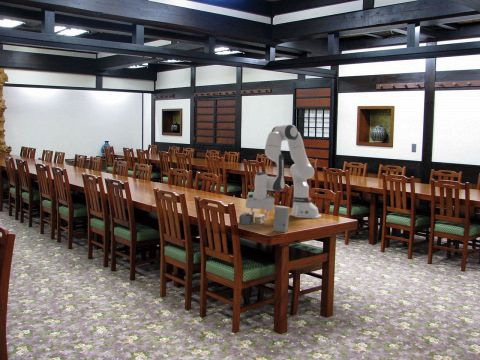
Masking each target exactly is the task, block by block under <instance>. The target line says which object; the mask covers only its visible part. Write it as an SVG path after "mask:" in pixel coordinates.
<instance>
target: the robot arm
mask: <svg viewBox="0 0 480 360" xmlns="http://www.w3.org/2000/svg"><path fill="white" fill-rule="evenodd" d="M286 141H287V145H288V150H289V154H290V157H291V160H292V161H293V162H294V163H293V164H292V165H291V166H290V168H289V172H290V174H291V176H292V182H293V197H292V208H291V209H292V210H291V212H290V215H291V216H292V217H295V218H302V219H303V218H307V219H319V218H322V214H321V213H319V208H318V207H317V206H316V205H315V204H314V203H313V202H312V197H310V196H309V193H310V192H309V191H310V186H309V184H308V180H310V179H312V178H313V177H314V175H315V168H314V167H313V166H312V164H311V163H310V160H309V158H308V156H307V152H306V150H305V149H306V148H305V145H304V141H303V137H302V135H301V133H300V132H299V130H298V128H297V127H296V126H295V125H293V124H282V125H277V126H274V127H273V128H272V129H271V132H269V133H268V135H267V138H266V142H265V147H264V154H265V156H266V157H267V158H268V159H269V160H271V161H272V162H274V163H275V164H276V176H269V175H268V174H267V172H265V171H259V172H256V173H255V176H254V190H253V192H251V193H249V194H247V198H246V199H245V207H246V208H247V209H250V213H251V214H253V215H254V216H255V213H256V212H255V211H254V209H255V210H266V212H265V213H264V214H265V216H266V217H267V216H268V214H269V212H270V211H274V210H275V198H274V196H268V195H267V193H268V191H273V192H276V193H279V192H282V191H283V190H284V189H285V187H286V184H285V183H286V182H285V159H284V155H283V154H282V151H281V149H282V142H286Z"/></svg>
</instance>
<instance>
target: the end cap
mask: <svg viewBox="0 0 480 360" xmlns="http://www.w3.org/2000/svg"><path fill="white" fill-rule="evenodd" d="M254 217H255V214H254V215H253V214H252V213H250V212H244V213H241V214H240V215H239V220H238V221H239V225H251V223H252V224H253V223H254ZM254 224H255V223H254Z"/></svg>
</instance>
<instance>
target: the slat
mask: <svg viewBox="0 0 480 360" xmlns="http://www.w3.org/2000/svg"><path fill="white" fill-rule="evenodd" d="M266 221H267V216H265V213H259V214H258V215H256V216H254V224H257V225H258V224H260V225H261V224H262V223H264V222H266Z"/></svg>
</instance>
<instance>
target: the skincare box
mask: <svg viewBox="0 0 480 360" xmlns="http://www.w3.org/2000/svg"><path fill="white" fill-rule="evenodd" d="M273 212H274V213H273V214H274V215H273V225H272V226H273V227H272V231H273V232H277V233H279V232H280V233H286V232H288V231H289V221H290V206H284V205H274V211H273Z"/></svg>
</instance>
